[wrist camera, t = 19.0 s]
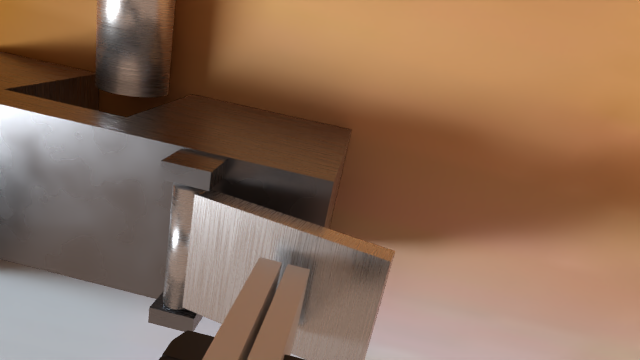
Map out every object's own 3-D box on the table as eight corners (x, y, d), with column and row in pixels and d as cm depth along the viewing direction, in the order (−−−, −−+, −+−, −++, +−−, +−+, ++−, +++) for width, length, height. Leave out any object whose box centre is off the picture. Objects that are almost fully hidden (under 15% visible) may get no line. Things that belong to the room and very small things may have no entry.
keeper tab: (156, 302, 18) (354, 386, 16) (166, 184, 16) (390, 261, 14) (175, 287, 19) (363, 365, 17) (186, 176, 17) (397, 245, 15)
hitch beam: (-11, 160, 29) (-218, 229, 19) (-17, 47, 27) (-257, 59, 17) (326, 240, 28) (293, 361, 18) (351, 129, 25) (328, 197, 15)
